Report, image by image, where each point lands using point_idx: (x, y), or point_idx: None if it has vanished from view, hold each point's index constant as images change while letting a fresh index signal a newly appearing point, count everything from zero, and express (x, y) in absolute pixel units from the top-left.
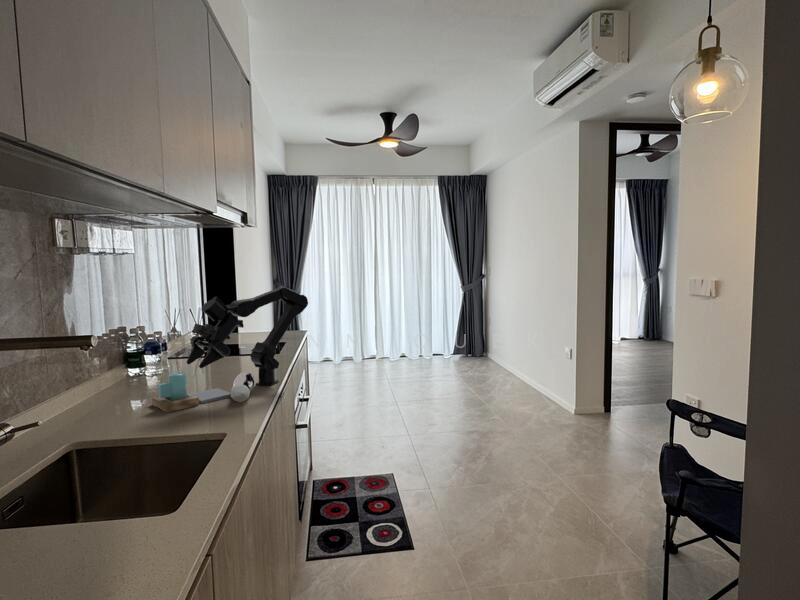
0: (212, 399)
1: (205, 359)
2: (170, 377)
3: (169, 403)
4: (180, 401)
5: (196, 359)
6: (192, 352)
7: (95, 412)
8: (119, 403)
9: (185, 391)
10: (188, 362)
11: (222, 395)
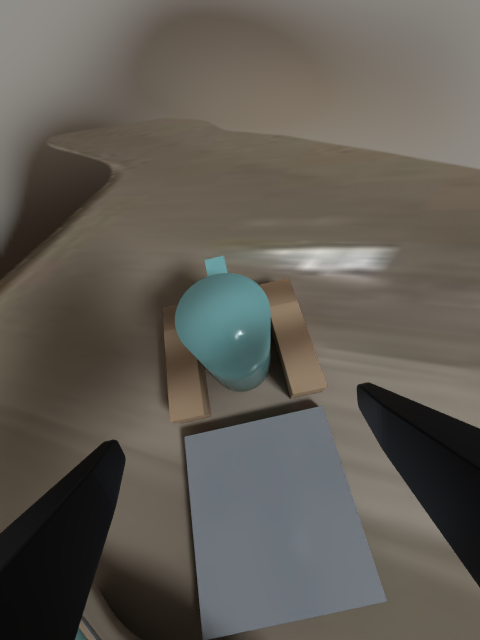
0: (191, 492)
1: (13, 530)
2: (201, 282)
3: (170, 315)
4: (166, 349)
5: (423, 507)
6: (471, 466)
7: (301, 186)
8: (364, 224)
9: (211, 373)
10: (363, 401)
11: (202, 562)
